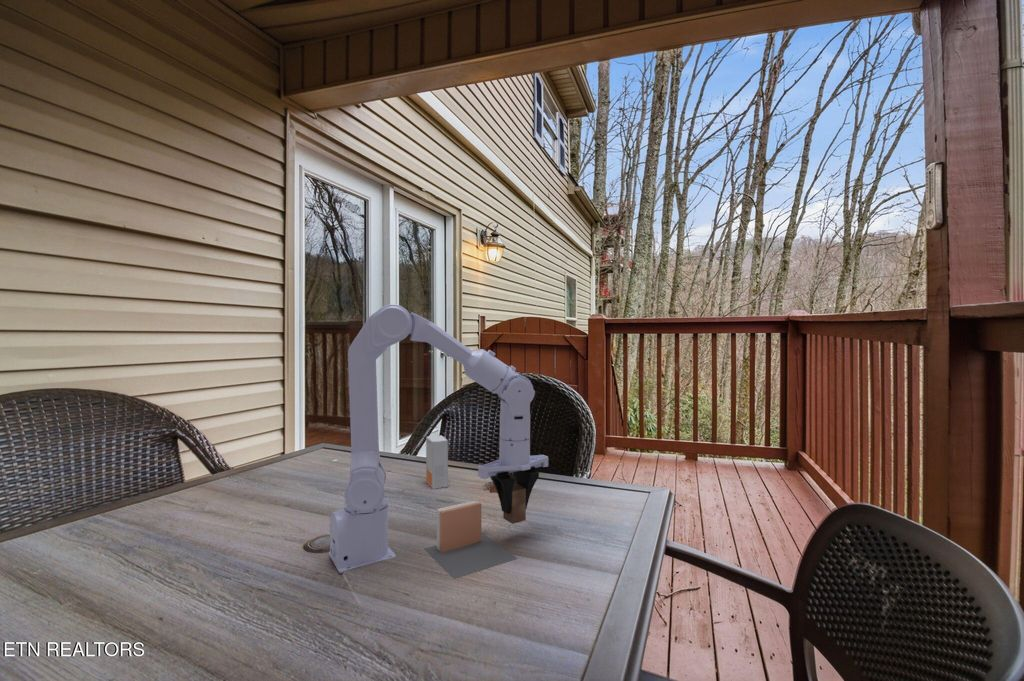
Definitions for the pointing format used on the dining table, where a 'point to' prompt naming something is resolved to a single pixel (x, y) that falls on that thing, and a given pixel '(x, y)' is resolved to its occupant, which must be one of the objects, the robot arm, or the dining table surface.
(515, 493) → the walnut block
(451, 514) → the whetstone
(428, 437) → the skincare box
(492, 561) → the mat
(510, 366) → the robot arm
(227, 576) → the dining table surface
